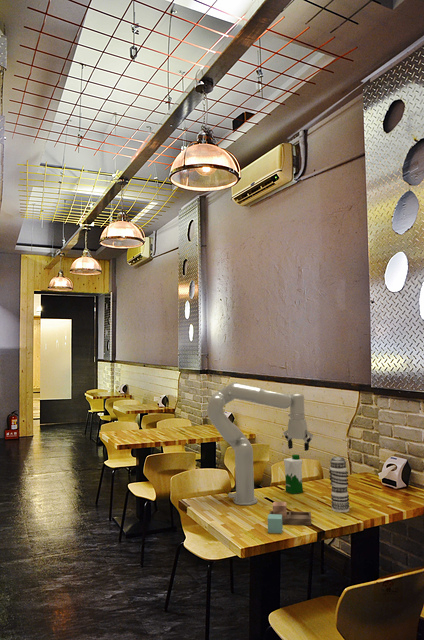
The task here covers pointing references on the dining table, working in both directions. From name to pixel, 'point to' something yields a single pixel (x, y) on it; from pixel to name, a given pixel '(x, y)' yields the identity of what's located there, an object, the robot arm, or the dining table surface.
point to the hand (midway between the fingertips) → (298, 449)
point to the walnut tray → (291, 515)
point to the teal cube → (275, 523)
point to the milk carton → (293, 474)
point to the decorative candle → (339, 484)
